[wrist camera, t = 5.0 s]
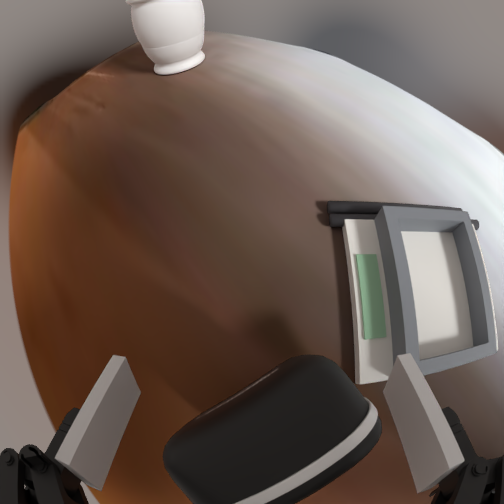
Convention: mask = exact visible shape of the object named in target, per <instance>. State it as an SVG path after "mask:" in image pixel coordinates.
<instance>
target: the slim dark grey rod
mask: <svg viewBox="0 0 504 504" xmlns="http://www.w3.org/2000/svg"><path fill="white" fill-rule="evenodd" d="M382 206H398V207H415V208H430V209H443V210H455V211H462V209H461V208H452V207H441V206H428V205H414V204H398V203H379V202H352V201H328V203H327V211H328V213H330V216H329V224H330V227H343V226H344V222H345V219H363V220H374V219H375V217H376V216H377V215H372V214H378V213H379V211H380V209H381V208H382ZM470 220H471V219H470ZM471 223H472V224H473V225H474V228H475V230H478V228H479V222H478V221H477V220H471Z"/></svg>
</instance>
